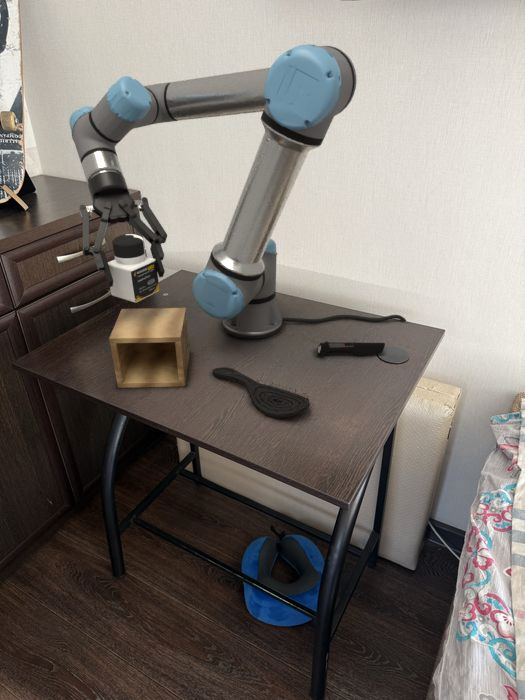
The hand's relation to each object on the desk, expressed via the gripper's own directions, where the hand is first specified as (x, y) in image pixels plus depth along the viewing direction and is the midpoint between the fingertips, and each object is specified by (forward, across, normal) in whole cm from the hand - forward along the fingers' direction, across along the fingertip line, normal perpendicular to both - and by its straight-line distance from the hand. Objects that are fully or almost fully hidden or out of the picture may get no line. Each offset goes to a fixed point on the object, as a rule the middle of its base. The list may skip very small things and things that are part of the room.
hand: (137, 279), depth 99 cm
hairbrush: (+29, -17, -3) cm, 34 cm away
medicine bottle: (+1, 0, -6) cm, 6 cm away
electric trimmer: (+26, -43, -6) cm, 51 cm away
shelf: (+16, -1, -15) cm, 22 cm away
